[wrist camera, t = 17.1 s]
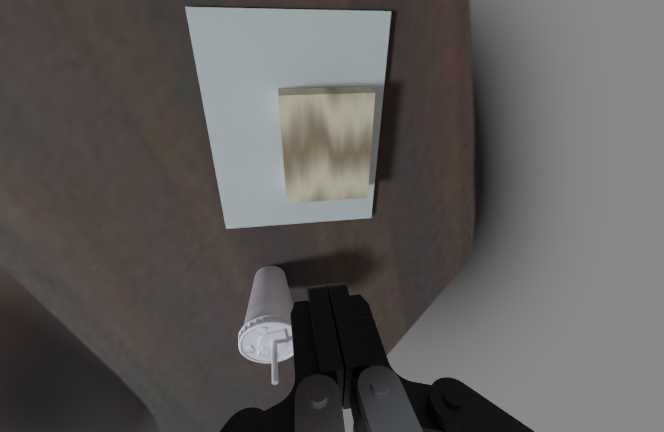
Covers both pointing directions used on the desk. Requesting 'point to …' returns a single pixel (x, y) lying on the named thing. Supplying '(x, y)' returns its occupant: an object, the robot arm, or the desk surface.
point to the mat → (263, 102)
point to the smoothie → (268, 320)
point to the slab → (326, 142)
